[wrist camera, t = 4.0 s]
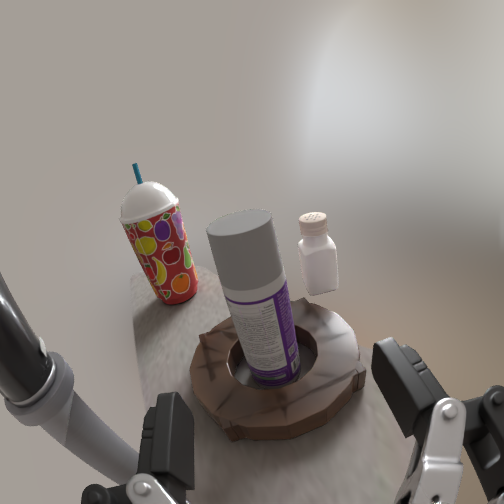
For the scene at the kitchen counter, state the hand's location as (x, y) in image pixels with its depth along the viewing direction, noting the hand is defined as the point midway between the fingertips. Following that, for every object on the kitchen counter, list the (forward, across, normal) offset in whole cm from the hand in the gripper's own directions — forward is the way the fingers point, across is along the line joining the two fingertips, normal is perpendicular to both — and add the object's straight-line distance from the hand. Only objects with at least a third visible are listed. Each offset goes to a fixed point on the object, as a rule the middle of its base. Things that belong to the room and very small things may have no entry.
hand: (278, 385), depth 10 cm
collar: (+11, 0, +12) cm, 16 cm away
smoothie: (+29, +11, +12) cm, 34 cm away
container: (+11, 0, +12) cm, 16 cm away
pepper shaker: (+22, -8, +12) cm, 27 cm away
